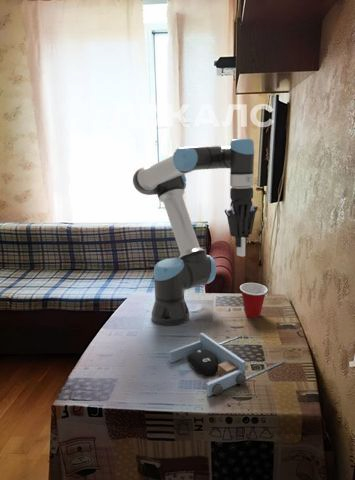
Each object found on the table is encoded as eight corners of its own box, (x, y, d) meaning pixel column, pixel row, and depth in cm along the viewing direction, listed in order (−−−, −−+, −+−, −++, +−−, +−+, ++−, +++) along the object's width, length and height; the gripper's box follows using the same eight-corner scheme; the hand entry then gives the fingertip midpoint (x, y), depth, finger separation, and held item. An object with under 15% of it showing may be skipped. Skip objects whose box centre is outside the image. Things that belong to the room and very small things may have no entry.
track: (169, 361, 118) (169, 361, 118) (240, 335, 133) (240, 335, 133) (209, 396, 101) (209, 396, 101) (285, 362, 116) (285, 361, 116)
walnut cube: (218, 376, 109) (218, 364, 109) (228, 372, 112) (228, 360, 111) (226, 383, 106) (226, 371, 105) (237, 378, 108) (237, 366, 107)
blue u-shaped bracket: (167, 359, 119) (166, 342, 117) (200, 347, 125) (200, 331, 124) (211, 398, 99) (211, 378, 98) (247, 381, 106) (247, 363, 105)
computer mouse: (200, 380, 108) (199, 367, 108) (185, 359, 119) (185, 348, 118) (223, 374, 111) (223, 362, 110) (206, 354, 122) (206, 343, 121)
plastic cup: (252, 324, 141) (252, 294, 139) (233, 314, 150) (234, 286, 148) (272, 316, 147) (273, 288, 144) (253, 307, 156) (254, 280, 153)
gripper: (234, 189, 116) (233, 261, 121) (264, 186, 123) (262, 254, 128) (219, 187, 122) (219, 256, 128) (248, 184, 129) (247, 250, 134)
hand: (240, 255), depth 128 cm, fingers closed
